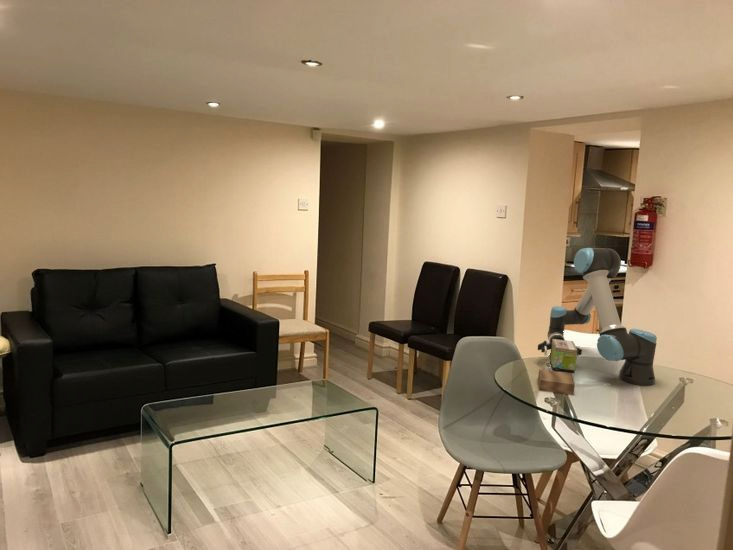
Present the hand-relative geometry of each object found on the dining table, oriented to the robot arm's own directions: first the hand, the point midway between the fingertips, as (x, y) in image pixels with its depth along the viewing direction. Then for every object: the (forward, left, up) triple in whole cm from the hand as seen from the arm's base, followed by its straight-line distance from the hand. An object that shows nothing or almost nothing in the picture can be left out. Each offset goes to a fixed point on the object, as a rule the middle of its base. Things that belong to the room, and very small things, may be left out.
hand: (560, 354), depth 277 cm
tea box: (-1, +4, -8) cm, 9 cm away
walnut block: (+3, +22, -9) cm, 24 cm away
